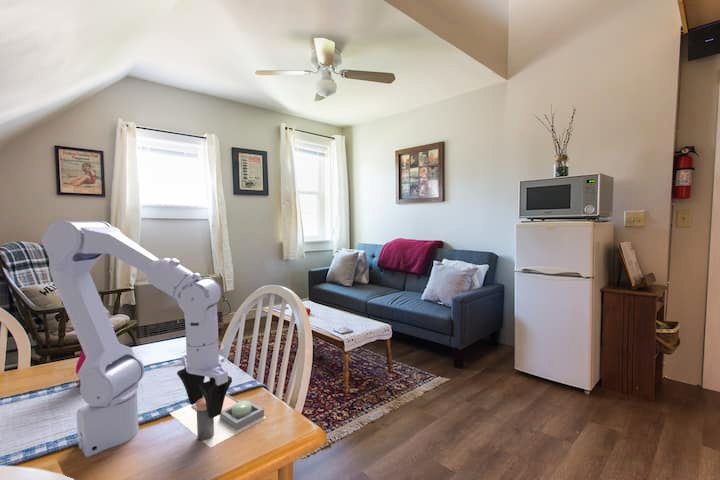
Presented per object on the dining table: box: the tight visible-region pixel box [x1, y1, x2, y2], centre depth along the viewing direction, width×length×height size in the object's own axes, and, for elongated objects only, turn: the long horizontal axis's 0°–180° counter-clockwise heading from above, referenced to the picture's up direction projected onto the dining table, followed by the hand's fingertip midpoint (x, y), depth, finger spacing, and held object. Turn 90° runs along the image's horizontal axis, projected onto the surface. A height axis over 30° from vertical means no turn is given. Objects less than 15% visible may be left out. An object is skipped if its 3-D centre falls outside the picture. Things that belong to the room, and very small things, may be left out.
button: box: [232, 400, 252, 419], centre depth 73 cm, size 4×4×2 cm
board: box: [168, 393, 267, 448], centre depth 74 cm, size 14×20×2 cm
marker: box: [196, 397, 214, 441], centre depth 67 cm, size 3×3×7 cm
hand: (205, 408), depth 67 cm, fingers open, 7 cm apart
